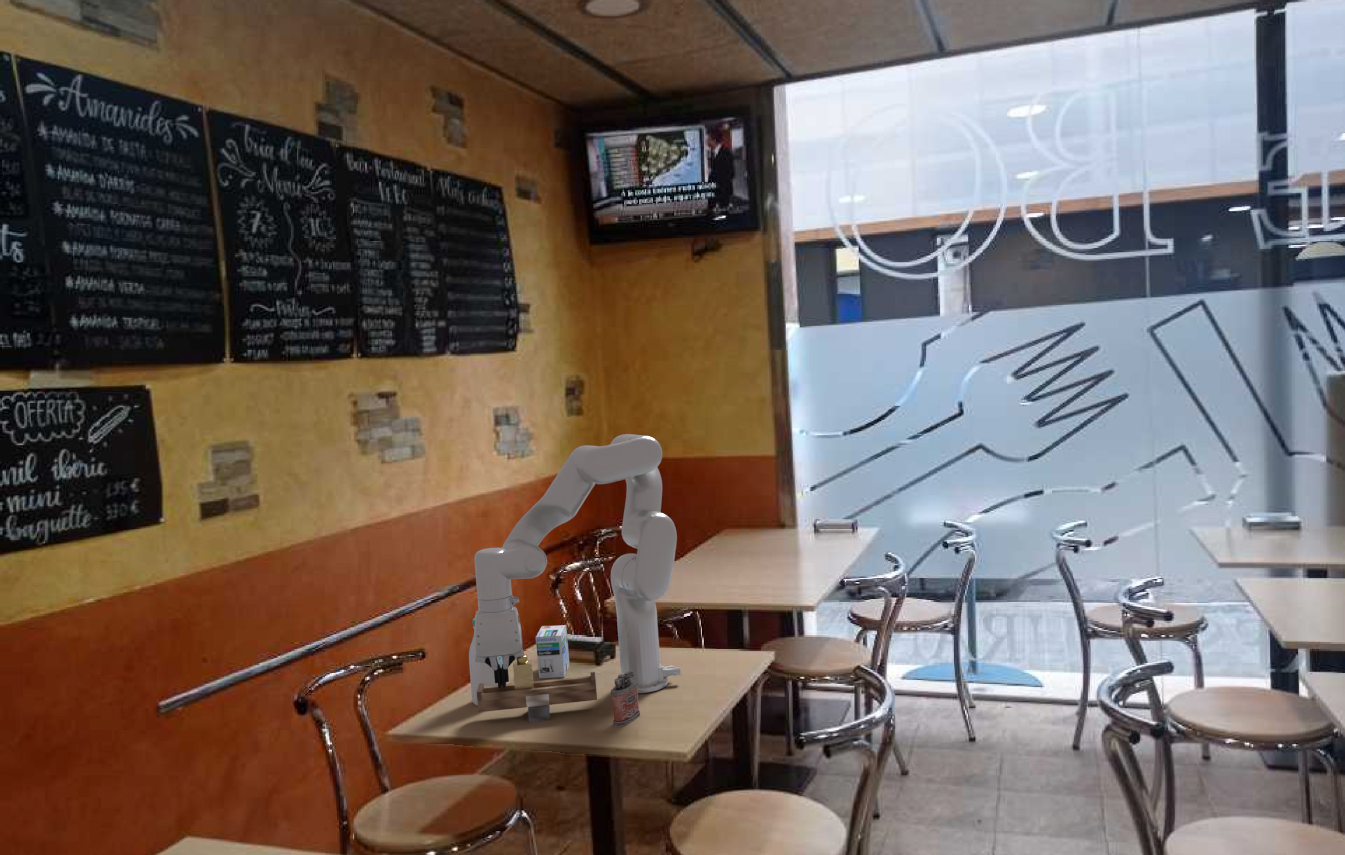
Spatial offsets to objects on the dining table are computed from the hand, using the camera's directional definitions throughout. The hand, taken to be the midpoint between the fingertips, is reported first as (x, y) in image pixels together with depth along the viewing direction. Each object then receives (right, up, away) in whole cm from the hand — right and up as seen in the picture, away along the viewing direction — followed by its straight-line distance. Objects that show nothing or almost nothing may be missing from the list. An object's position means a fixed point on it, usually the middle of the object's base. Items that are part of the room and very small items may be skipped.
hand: (502, 685), depth 221 cm
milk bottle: (-5, -7, +13) cm, 16 cm away
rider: (+5, -1, +1) cm, 5 cm away
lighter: (+28, -6, -6) cm, 29 cm away
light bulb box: (+8, -5, +32) cm, 34 cm away
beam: (+8, -7, +1) cm, 11 cm away
